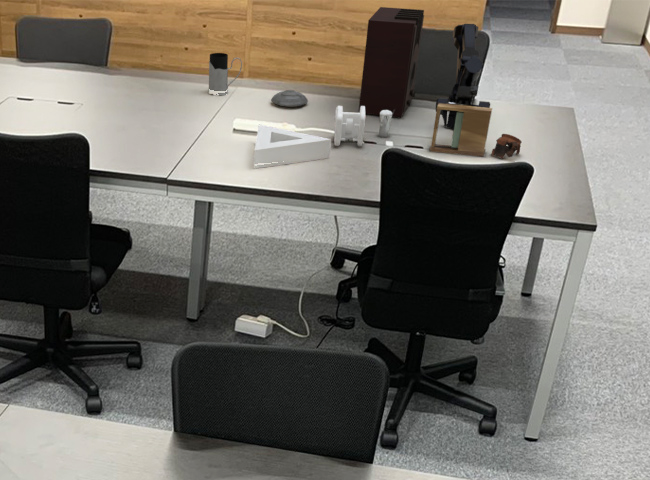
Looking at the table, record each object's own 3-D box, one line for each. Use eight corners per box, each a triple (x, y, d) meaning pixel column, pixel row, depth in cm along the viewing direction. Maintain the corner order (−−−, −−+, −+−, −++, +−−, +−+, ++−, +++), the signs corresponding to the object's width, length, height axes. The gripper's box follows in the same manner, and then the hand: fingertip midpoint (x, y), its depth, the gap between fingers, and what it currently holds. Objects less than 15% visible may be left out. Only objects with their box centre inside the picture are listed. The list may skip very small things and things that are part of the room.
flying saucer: (315, 105, 395) (316, 91, 392) (286, 111, 389) (287, 97, 385) (291, 97, 405) (292, 83, 402) (263, 102, 399) (264, 88, 395)
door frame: (431, 146, 353) (438, 102, 343) (485, 152, 348) (493, 107, 338) (429, 151, 349) (436, 106, 339) (483, 156, 344) (492, 111, 334)
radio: (358, 114, 385) (368, 17, 364) (370, 97, 406) (380, 4, 384) (405, 119, 381) (419, 21, 359) (415, 101, 401) (428, 7, 380)
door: (453, 141, 352) (459, 106, 345) (478, 143, 350) (485, 109, 343) (450, 147, 347) (456, 112, 340) (476, 149, 345) (483, 114, 337)
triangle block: (253, 168, 333) (254, 150, 329) (221, 147, 352) (221, 129, 348) (329, 157, 343) (331, 139, 339) (293, 137, 362) (295, 119, 358)
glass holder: (206, 90, 413) (206, 52, 404) (239, 89, 415) (240, 51, 406) (208, 96, 406) (209, 57, 397) (242, 95, 408) (244, 56, 399)
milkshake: (391, 138, 361) (395, 110, 355) (376, 137, 362) (380, 109, 356) (391, 134, 364) (395, 106, 358) (377, 133, 365) (380, 105, 359)
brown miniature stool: (484, 154, 348) (495, 131, 346) (505, 165, 351) (516, 142, 349) (501, 155, 337) (512, 132, 335) (522, 166, 340) (534, 143, 338)
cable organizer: (362, 149, 350) (365, 116, 343) (332, 148, 351) (335, 115, 344) (361, 137, 362) (365, 104, 355) (333, 135, 363) (336, 103, 356)
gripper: (440, 73, 344) (431, 114, 342) (495, 78, 339) (486, 119, 337) (440, 91, 354) (431, 130, 353) (492, 96, 350) (484, 136, 348)
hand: (457, 129), depth 347 cm, fingers open, 9 cm apart
